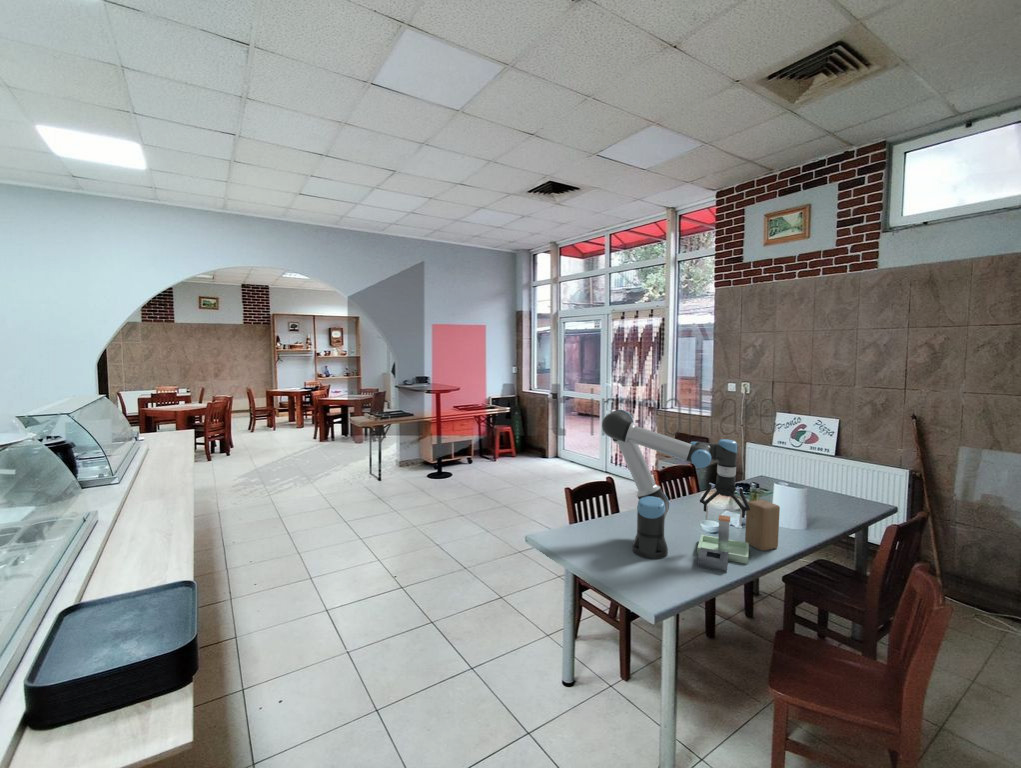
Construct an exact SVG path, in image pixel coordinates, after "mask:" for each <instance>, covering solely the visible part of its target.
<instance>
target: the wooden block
mask: <svg viewBox="0 0 1021 768" xmlns="http://www.w3.org/2000/svg"><path fill="white" fill-rule="evenodd" d="M747 502H748V504H749V506H750V510H749V511H748V510H747V511H745V536H744V537H745V539H744V542H747V543H749V546H751V547H754V548H755V549H757V550H759V551H762V552H763V551H769V550H772V549H777V548H779V532H780V531H779V527H780V510H781V508H780V505H778V504H776V503H772V502H770V501H767V500H764V499H756V500H750V501H747Z"/></svg>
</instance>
